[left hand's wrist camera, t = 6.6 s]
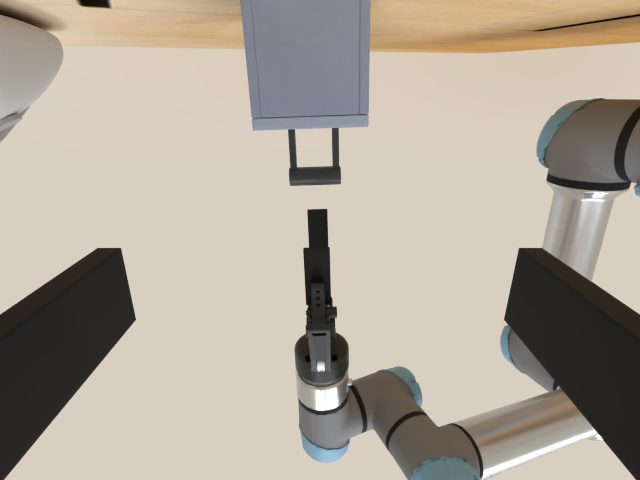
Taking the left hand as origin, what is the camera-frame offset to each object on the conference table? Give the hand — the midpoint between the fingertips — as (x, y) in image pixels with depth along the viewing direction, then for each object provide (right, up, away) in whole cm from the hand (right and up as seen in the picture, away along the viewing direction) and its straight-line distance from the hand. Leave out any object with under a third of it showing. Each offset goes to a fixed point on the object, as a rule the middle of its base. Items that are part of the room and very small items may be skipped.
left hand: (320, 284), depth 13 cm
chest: (-1, +23, +19) cm, 30 cm away
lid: (-1, +14, +23) cm, 27 cm away
